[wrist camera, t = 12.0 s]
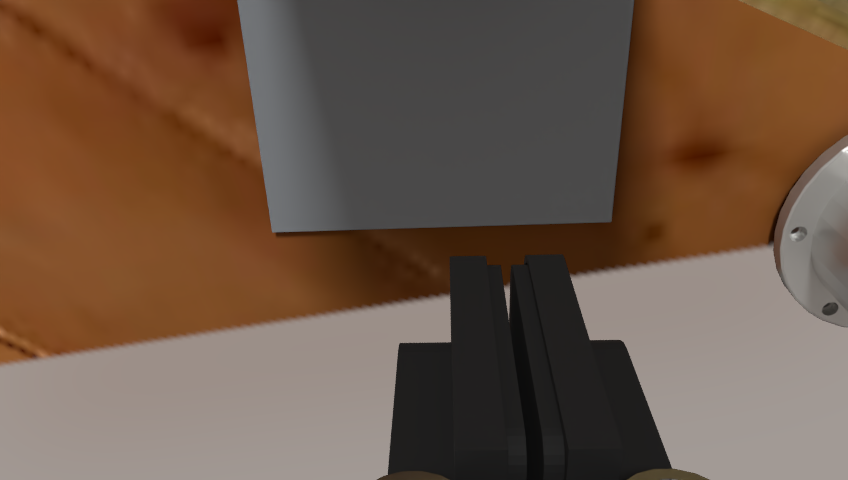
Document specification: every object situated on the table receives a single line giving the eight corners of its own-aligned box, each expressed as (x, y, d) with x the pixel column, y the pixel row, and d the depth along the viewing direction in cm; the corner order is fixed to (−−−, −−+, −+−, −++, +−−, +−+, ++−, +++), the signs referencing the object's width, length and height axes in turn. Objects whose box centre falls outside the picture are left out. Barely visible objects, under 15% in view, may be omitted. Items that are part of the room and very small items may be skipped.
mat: (637, -65, 32) (640, -63, 32) (609, 217, 39) (611, 222, 38) (232, -50, 32) (230, -49, 32) (273, 227, 39) (272, 232, 39)
